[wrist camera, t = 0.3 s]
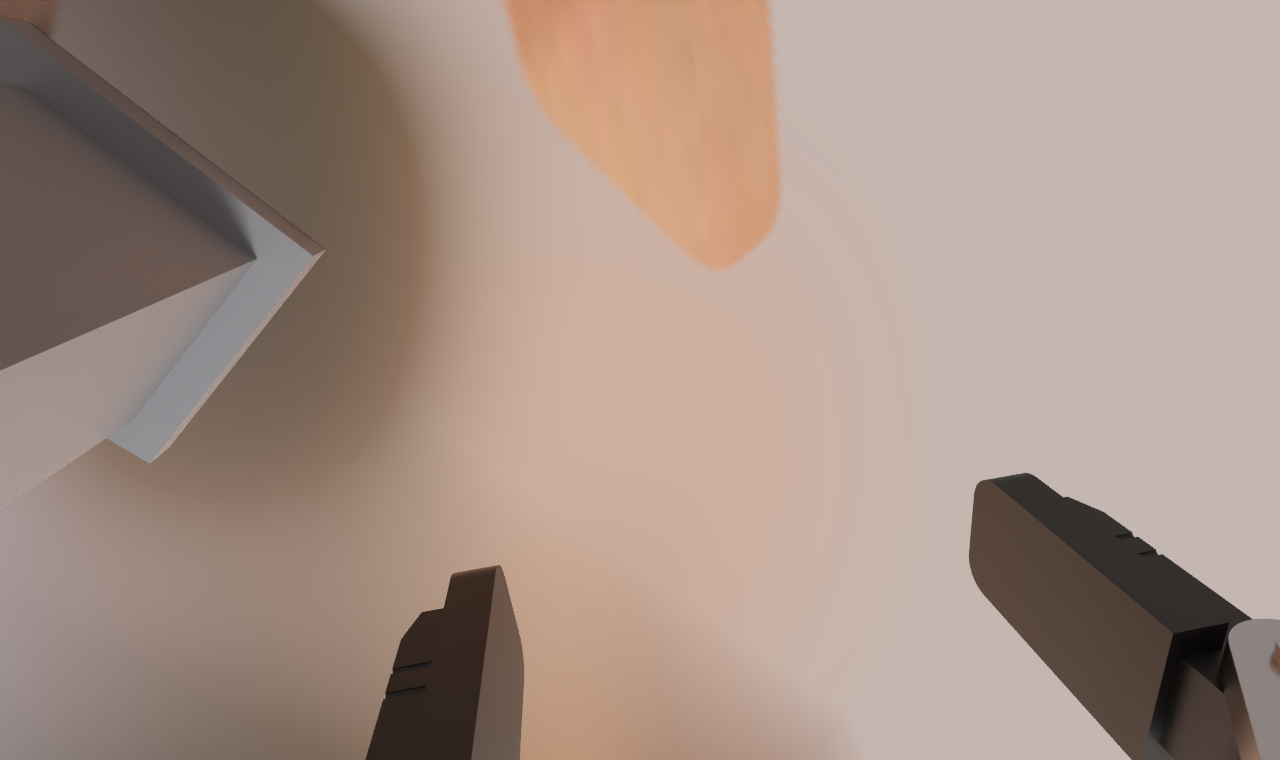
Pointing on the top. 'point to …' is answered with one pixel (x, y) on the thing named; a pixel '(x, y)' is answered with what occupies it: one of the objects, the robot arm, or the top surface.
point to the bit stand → (116, 267)
